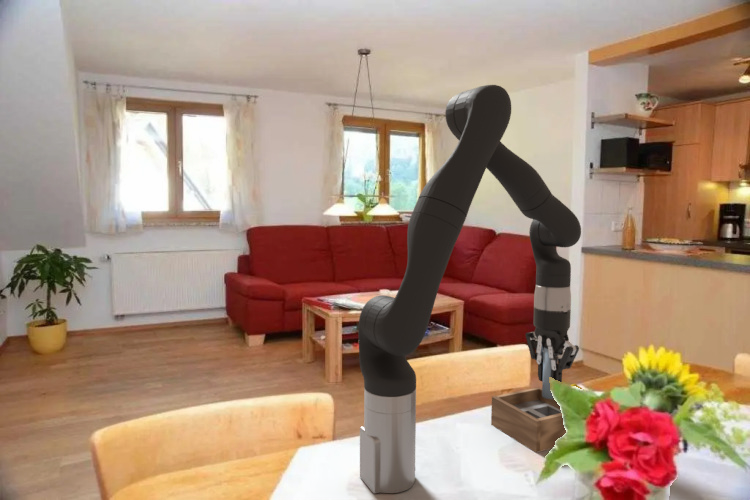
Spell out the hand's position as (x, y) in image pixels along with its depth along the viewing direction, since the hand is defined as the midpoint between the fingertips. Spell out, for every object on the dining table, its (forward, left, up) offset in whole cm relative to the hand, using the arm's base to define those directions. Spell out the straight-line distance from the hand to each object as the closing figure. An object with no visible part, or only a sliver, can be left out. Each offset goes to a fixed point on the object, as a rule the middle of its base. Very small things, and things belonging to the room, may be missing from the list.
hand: (549, 382), depth 110 cm
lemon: (+10, +2, -11) cm, 15 cm away
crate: (-3, 0, -11) cm, 11 cm away
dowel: (0, 0, -3) cm, 3 cm away
